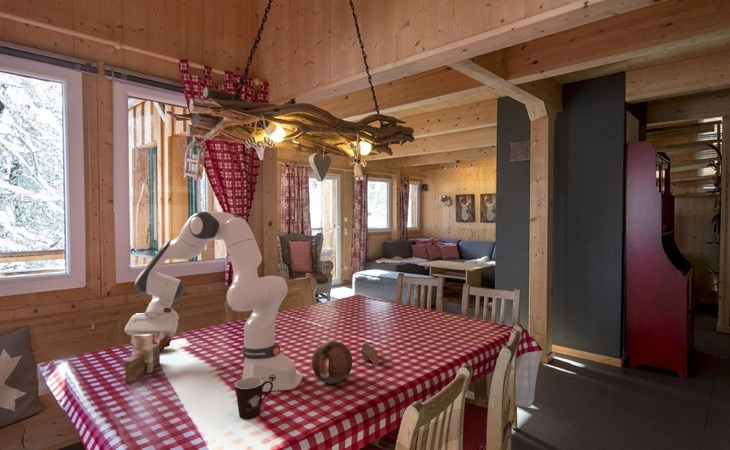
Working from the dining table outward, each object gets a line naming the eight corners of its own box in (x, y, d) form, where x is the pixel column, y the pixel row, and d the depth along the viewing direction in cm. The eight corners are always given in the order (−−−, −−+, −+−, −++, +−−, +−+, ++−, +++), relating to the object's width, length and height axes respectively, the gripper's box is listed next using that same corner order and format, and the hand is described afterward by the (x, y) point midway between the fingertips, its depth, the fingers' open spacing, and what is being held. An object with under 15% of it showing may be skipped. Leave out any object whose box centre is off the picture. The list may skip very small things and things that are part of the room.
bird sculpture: (371, 374, 158) (371, 361, 157) (355, 353, 182) (355, 342, 181) (387, 372, 159) (387, 359, 159) (369, 351, 183) (369, 340, 183)
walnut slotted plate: (159, 362, 172) (159, 344, 172) (131, 382, 152) (131, 361, 152) (154, 362, 172) (153, 344, 172) (125, 382, 152) (124, 361, 152)
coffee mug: (234, 423, 122) (234, 390, 121) (236, 409, 130) (235, 379, 130) (274, 417, 125) (273, 385, 124) (273, 404, 133) (272, 374, 133)
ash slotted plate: (153, 370, 164) (152, 333, 163) (150, 373, 161) (149, 335, 161) (137, 370, 164) (136, 334, 163) (134, 373, 161) (133, 335, 161)
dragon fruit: (173, 352, 190) (145, 360, 185) (170, 338, 196) (142, 345, 190) (171, 341, 185) (142, 349, 180) (168, 327, 191) (140, 334, 185)
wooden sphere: (332, 370, 161) (331, 333, 161) (360, 380, 152) (360, 340, 151) (303, 383, 150) (303, 343, 149) (333, 394, 140) (332, 351, 140)
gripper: (129, 309, 171) (115, 339, 161) (177, 309, 171) (166, 339, 161) (136, 317, 176) (122, 347, 166) (182, 317, 175) (172, 347, 166)
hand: (144, 343), depth 163 cm, fingers open, 8 cm apart
